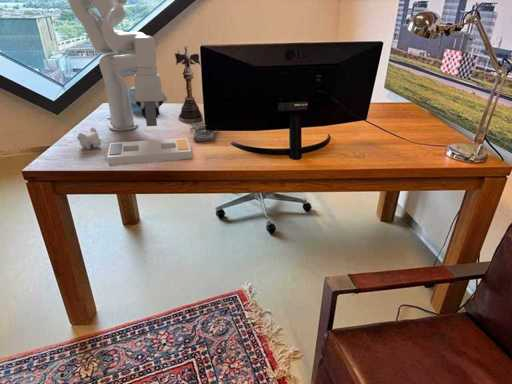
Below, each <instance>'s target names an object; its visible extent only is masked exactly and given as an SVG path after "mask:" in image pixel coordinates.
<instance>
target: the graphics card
mask: <svg viewBox="0 0 512 384" xmlns="http://www.w3.org/2000/svg"><path fill="white" fill-rule="evenodd" d="M204 125H205V124H204V123H199V122H195V123H189V126H190V130H191V131H194V133H193V138H192V139H193V141H213V140H214V139H215V135H216V132H215V131H205V126H206V125H205V126H204Z"/></svg>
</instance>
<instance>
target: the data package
mask: <svg viewBox="0 0 512 384" xmlns="http://www.w3.org/2000/svg"><path fill="white" fill-rule="evenodd" d="M129 92H130V99H131V98H132V96H133V95H134V93H135V86H132V87H131V88H129ZM155 105H156V104H155ZM131 106H132V113H142V109H141V107H139V106H138V105H137V104H136V103H134V102H132V101H131ZM144 106H145V104H144Z"/></svg>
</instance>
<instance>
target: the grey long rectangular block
mask: <svg viewBox="0 0 512 384" xmlns="http://www.w3.org/2000/svg"><path fill="white" fill-rule="evenodd" d="M144 104H145V114H146V118H145V122H146V127H157V126H158V124H157V123H158V122H157V121H158V120H157V118H156V109H155V102H144Z"/></svg>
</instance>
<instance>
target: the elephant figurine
mask: <svg viewBox="0 0 512 384" xmlns="http://www.w3.org/2000/svg"><path fill="white" fill-rule="evenodd" d="M76 139H77V140H78V142H79V144H80V147H81V148H82V149H86V150H90V149H92V148H97V147H100V146H101V142H102V143H104V141H103V140H102V139H101V138H100V137H99V134H98V132H97V129H96V128H95V127H91V128H90V129H89V132H86V133H84V134H83V133H81V132H80V133H78V135H77V137H76Z"/></svg>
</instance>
